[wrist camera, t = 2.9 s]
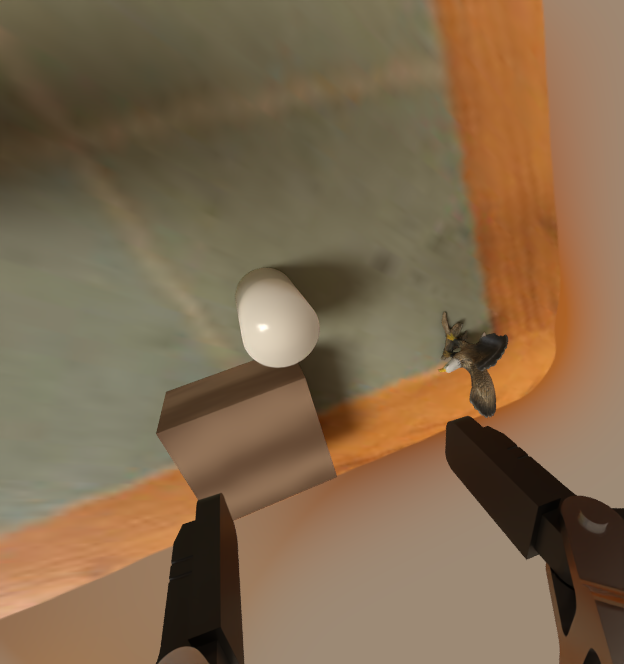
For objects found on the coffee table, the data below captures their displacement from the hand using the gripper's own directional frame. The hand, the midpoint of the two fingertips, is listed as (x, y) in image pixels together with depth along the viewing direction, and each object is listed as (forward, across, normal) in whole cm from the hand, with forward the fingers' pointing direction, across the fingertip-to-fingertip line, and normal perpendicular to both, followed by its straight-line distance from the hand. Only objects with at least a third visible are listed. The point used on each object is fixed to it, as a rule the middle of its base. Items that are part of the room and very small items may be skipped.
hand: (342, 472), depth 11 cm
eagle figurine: (+20, -18, +9) cm, 29 cm away
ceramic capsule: (+20, 0, 0) cm, 20 cm away
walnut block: (+20, +4, +12) cm, 24 cm away
